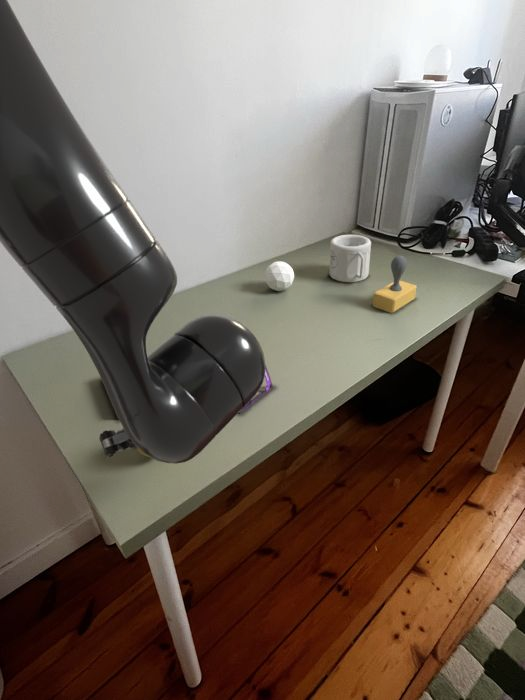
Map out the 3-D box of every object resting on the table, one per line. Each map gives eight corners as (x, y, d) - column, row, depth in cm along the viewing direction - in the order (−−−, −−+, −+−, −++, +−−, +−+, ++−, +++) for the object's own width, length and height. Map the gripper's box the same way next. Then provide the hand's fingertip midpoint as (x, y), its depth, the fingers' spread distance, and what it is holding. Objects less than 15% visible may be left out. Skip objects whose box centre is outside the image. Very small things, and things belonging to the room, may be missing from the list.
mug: (323, 270, 125) (324, 236, 119) (358, 265, 127) (361, 231, 121) (341, 290, 114) (343, 253, 108) (379, 283, 116) (383, 248, 110)
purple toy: (230, 380, 73) (265, 356, 79) (212, 377, 77) (246, 354, 82) (243, 413, 75) (276, 388, 81) (224, 409, 79) (257, 385, 85)
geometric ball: (274, 300, 117) (256, 282, 112) (279, 279, 121) (261, 260, 117) (297, 291, 112) (279, 272, 108) (301, 270, 117) (284, 250, 112)
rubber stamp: (395, 292, 111) (401, 247, 105) (415, 299, 108) (422, 253, 101) (372, 306, 106) (376, 259, 99) (392, 313, 102) (398, 266, 96)
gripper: (217, 359, 48) (194, 386, 63) (85, 405, 42) (94, 423, 57) (243, 423, 47) (213, 435, 62) (111, 478, 41) (113, 477, 56)
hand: (156, 429), depth 59 cm, fingers open, 8 cm apart
